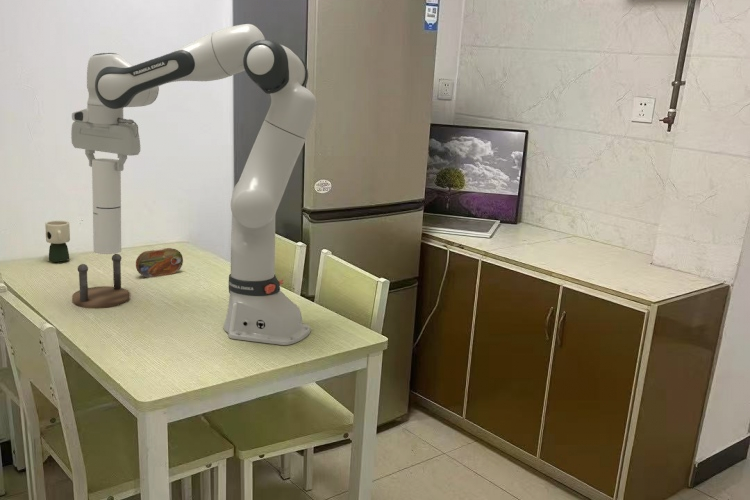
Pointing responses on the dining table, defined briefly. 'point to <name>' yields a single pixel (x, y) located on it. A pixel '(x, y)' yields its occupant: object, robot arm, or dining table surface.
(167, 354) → the dining table surface
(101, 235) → the cylindrical container
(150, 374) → the dining table surface
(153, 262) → the tin
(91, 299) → the roll holder
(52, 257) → the character mug
